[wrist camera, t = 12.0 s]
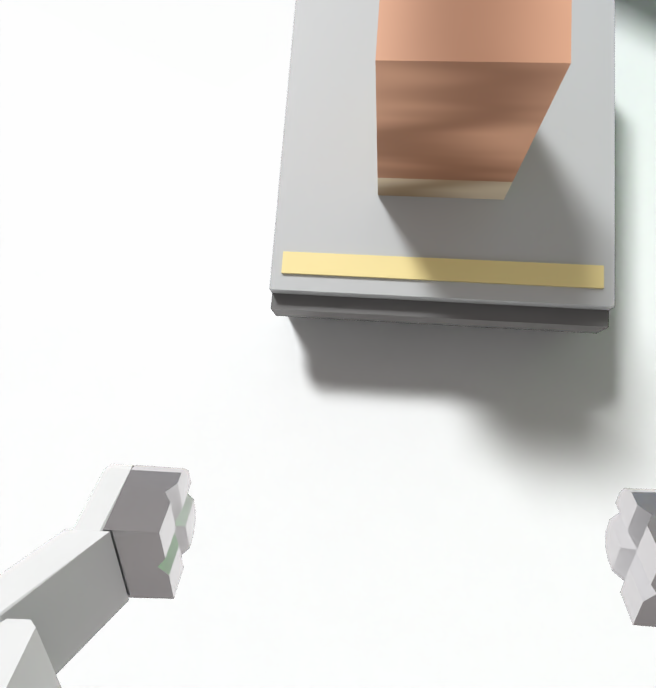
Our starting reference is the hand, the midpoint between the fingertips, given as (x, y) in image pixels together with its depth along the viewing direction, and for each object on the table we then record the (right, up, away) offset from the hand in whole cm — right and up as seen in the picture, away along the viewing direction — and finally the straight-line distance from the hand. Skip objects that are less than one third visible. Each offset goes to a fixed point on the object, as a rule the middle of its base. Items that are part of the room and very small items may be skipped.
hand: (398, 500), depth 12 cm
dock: (+3, +10, +15) cm, 18 cm away
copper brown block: (+3, +11, +11) cm, 15 cm away
